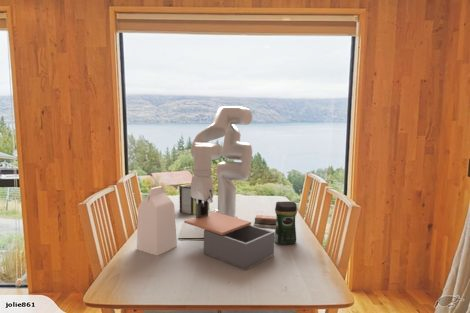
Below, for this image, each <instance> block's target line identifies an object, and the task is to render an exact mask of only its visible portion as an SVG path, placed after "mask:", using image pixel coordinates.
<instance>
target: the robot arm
mask: <svg viewBox="0 0 470 313" xmlns="http://www.w3.org/2000/svg"><path fill="white" fill-rule="evenodd" d="M252 121H253V112H252V110H251V109H250V108H249V107H248V108H247V107H243V106H239V105H238V106H237V105H235V106H234V105H231V106H230V105H229V106H228V105H227V106H226V105H224V106H221V107H219V108H218V109H217V112H216V113H215V115H214V117H213V120H212V121H211V124H210V125H209V126H208V127H205V128H204V129H202V130H201V131H200V132H198V133H197V134H196V136H195V137H194V139H193V142H192V144H191V146H190V155H191V157H192V158H193V170H192V171H193V174H192V177H191V182H190V183H191V197H192V198H193V199H194V200H195V201H196V204H199V203H202V206H201V215H206V214H207V206H208V204H209V205H210V204H211V203H213V197H214V182H213V177H212V160H215V161H216V160H218V159H220V158H221V157H222V158H223V159H225V160H227V161H225V160H224V161H221V162H219V163H218V164H217V165H216V169H215V170H216V177H217V209H214V211H213V212H217V213H220V214H224V215H228V216H231V217H235V218H238V219H239V217H238V216H236V211H237V209H236V206H237V205H236V204H237V203H236V202H237V199H236V198H237V187H236V185H235V182H234V181H239V182H246V181H248V179H249V178H250V174H251V165H252V158H253V148H252V145H251V144H250V143H248V142H244V141H242V142H241V132H240V130H239V129H238V127H237V126H236V125H238V126H239V125H240V126H241V125H243V126H244V125H245V126H248V125H250V124H251V122H252ZM223 137H224V139H223V142H222V143H223V144H222V145H220V144H219V143H218V142H216V143H215V142H210V141H215V140H217V139H220V138H221V139H222V138H223ZM228 160H229V161H228ZM239 161H240V162H239Z"/></svg>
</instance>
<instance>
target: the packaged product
mask: <svg viewBox="0 0 470 313" xmlns="http://www.w3.org/2000/svg"><path fill="white" fill-rule="evenodd" d="M253 222H254V223H253V225H252V226H255V227H259V228H262V229H265V228H266V229H274V230H275V228H276V215H275V216H273V215H262V214H256V215H255V217H254V221H253Z"/></svg>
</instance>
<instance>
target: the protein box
mask: <svg viewBox="0 0 470 313" xmlns="http://www.w3.org/2000/svg"><path fill="white" fill-rule="evenodd" d="M208 210H210V203H209V204H208ZM179 212H180V213H184V214H188V215H192V216H194V215H196V201H195V200H194V199H193V198H192V197H191V182H189V183H185V184H181V185H179Z"/></svg>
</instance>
